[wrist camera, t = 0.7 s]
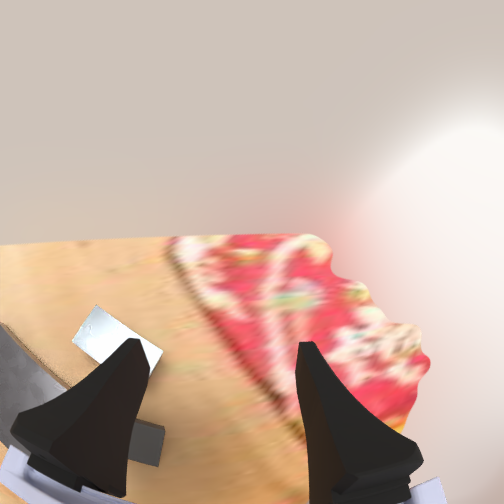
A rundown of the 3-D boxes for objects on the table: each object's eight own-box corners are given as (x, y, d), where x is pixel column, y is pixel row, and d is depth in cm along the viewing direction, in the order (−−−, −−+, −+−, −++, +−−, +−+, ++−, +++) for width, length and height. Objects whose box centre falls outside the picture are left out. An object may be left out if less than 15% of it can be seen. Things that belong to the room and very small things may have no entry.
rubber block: (157, 459, 20) (158, 467, 17) (118, 448, 19) (115, 454, 17) (163, 426, 22) (165, 430, 20) (125, 415, 21) (122, 418, 19)
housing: (142, 389, 23) (140, 390, 18) (86, 350, 23) (71, 340, 18) (160, 358, 25) (163, 351, 21) (105, 321, 25) (96, 304, 20)
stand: (36, 462, 14) (28, 466, 12) (-30, 393, 13) (-41, 392, 11) (73, 390, 20) (66, 389, 18) (5, 324, 19) (-5, 318, 17)
